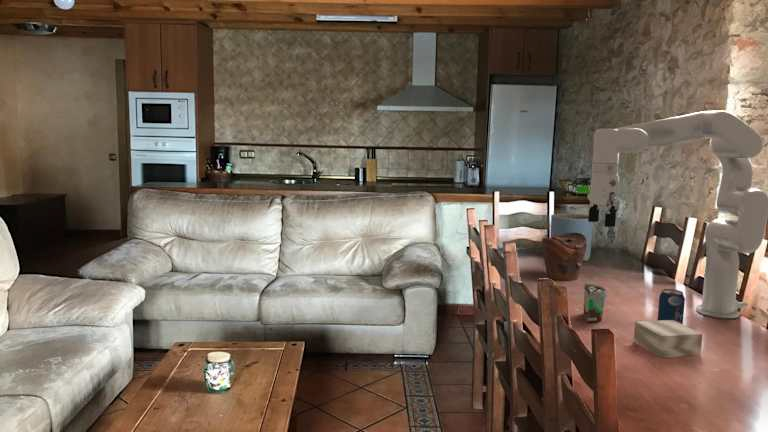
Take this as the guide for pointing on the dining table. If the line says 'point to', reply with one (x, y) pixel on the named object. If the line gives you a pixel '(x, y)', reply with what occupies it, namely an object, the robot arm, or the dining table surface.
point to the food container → (594, 302)
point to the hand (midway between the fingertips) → (601, 224)
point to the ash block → (667, 338)
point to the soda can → (671, 305)
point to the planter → (573, 227)
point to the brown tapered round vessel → (564, 255)
